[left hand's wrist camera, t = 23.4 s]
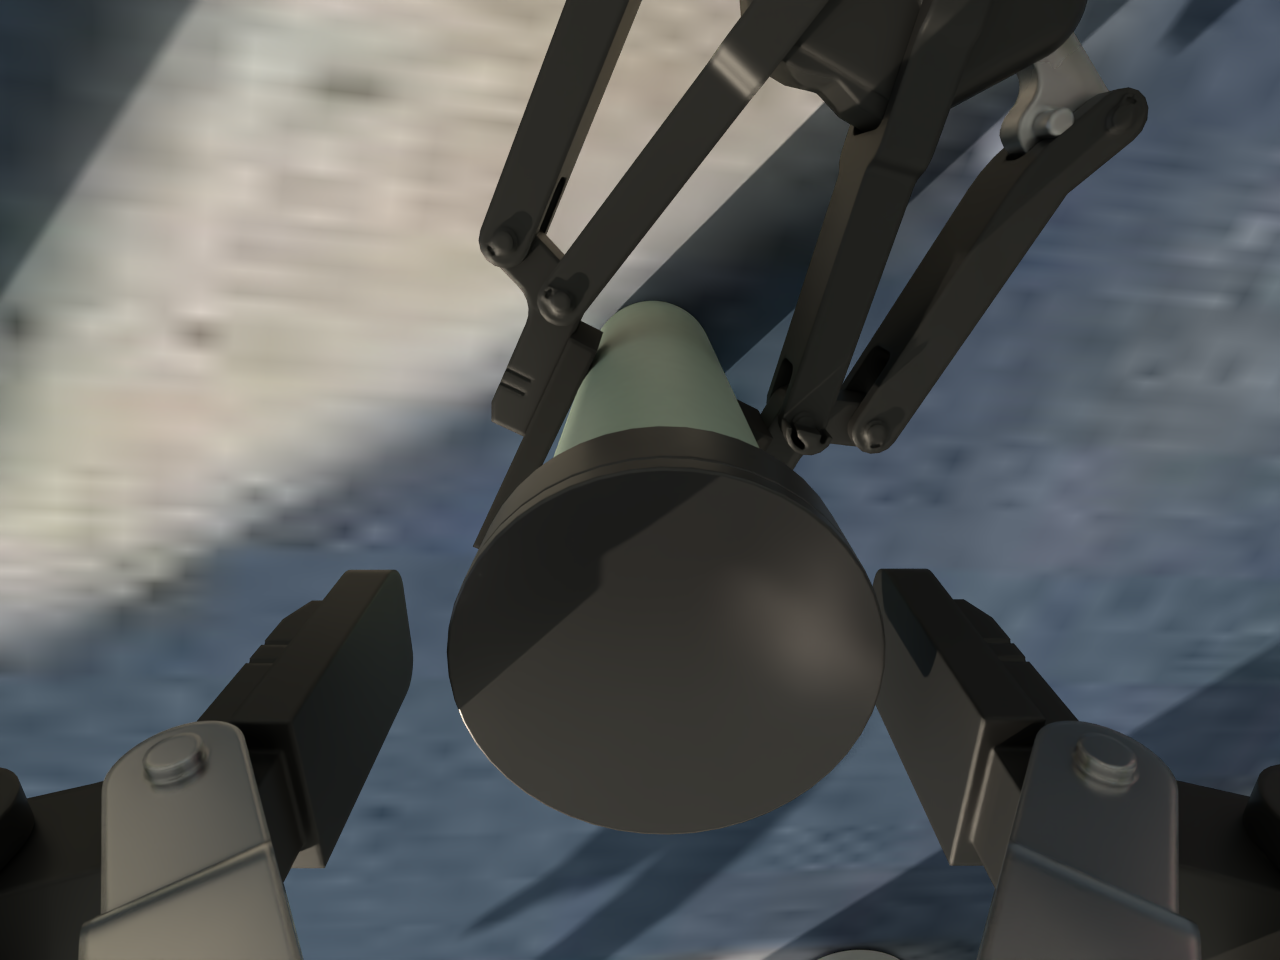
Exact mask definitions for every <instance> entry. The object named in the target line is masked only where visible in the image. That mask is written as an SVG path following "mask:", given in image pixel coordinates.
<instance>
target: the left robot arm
mask: <svg viewBox="0 0 1280 960" xmlns="http://www.w3.org/2000/svg"><path fill="white" fill-rule="evenodd" d="M873 588H874V591H875V593H876V596H877V599H878V603H879V606H880V610H881V613H882V617H883V624H884V632H885V640H886V647H885V668H884V673H883V678H882V683H881V688H880V692H879V695H878V698H877V701H876V703H875V705H876V707H877V709H878V711H879V713H880V715H881V717H882V720H883V722H884V724H885V726H886V728H887V730H888V733H889V735H890V737H891V739H892V741H893V743H894V746H895V748H896V750H897V752H898V754H899V756H900V758H901V761H902V763H903V765H904V767H905V769H906V771H907V774H908V776H909V778H910V780H911V782H912V784H913V787H914V789H915V791H916V793H917V795H918V797H919V799H920V802H921V804H922V806H923V808H924V810H925V812H926V815H927V817H928V819H929V821H930V823H931V825H932V828H933V830H934V832H935V834H936V836H937V838H938V840H939V843H940V845H941V847H942V849H943V851H944V853H945V856H946V858H947V860H948V862H949V864H950V866H984V868H985V870H986V871H987V873H988V875H989V877H990V879H991V881H992V883H993V885H994V887H995V891H994V895H993V898H992V902H991V906H990V910H989V914H988V918H987V921H986V925H985V929H984V933H983V937H982V941H981V945H980V948H979V952H978V956H977V960H1280V765H1275V766H1270V767H1268V768H1266V769H1264V770H1263V771H1262V772H1261V773H1260V775H1259V777H1258V780H1257V782H1256V784H1255V787H1254V789H1253V791H1252V794H1251V796H1250V797H1248V796H1244V795H1239V794H1235V793H1231V792H1226V791H1222V790H1217V789H1213V788H1208V787H1204V786H1199V785H1195V784H1190V783H1186V782H1181V781H1177V780H1176V779H1175V777H1174V775H1173V773H1172V772H1171V770H1170V769H1169V768H1168V766H1167V765H1166V764H1165V763H1164V762H1163V761H1162V760H1161V759H1160V758H1159V757H1158V756H1157V755H1156V754H1154V753H1153V752H1152V751H1151V750H1149V749H1148V748H1146V747H1145V746H1144V745H1142V744H1141V743H1139V742H1137V741H1135V740H1134V739H1132V738H1130V737H1128V736H1126V735H1124V734H1122V733H1120V732H1117V731H1115V730H1112V729H1110V728H1107V727H1104V726H1100V725H1097V724H1092V723H1088V722H1081V721H1078V720H1077V718H1076V717H1075V716H1074V715H1073V714H1072V712H1071V711H1070V710H1069V709H1068V708H1067V706H1066V705H1065V704H1064V703H1063V702H1062V700H1061V699H1060V698H1059V697H1058V696H1057V694H1056V693H1055V692H1054V691H1053V690H1052V688H1051V687H1050V686H1049V685H1048V684H1047V682H1046V681H1045V680H1044V679H1043V678H1042V676H1041V675H1040V674H1039V673H1038V672H1037V671H1036V669H1035V668H1034V667H1033V666H1032V665H1031V663H1030V662H1026V661H1025V656H1024V655H1023V654H1022V653H1021V651H1020V650H1019V649H1018V648H1017V647H1016V645H1015V644H1014V643H1010V638H1009V637H1008V636H1007V635H1006V633H1005V632H1004V631H1003V630H1002V629H1001V627H1000V626H999V625H998V624H997V623H996V621H995V620H994V619H993V618H992V617H990V616H989V615H987V614H986V613H984V612H983V611H981V610H980V609H978V608H976V607H975V606H973V605H972V604H970V603H969V602H967V601H966V600H964V599H952V598H951V596H950V595H949V594H948V592H947V591H946V590H945V588H944V587H943V586H942V585H941V583H940V582H939V581H938V579H937V578H936V577H935V576H934V574H933V573H932V572H931V571H930V570H928V569H879V570H878V572H877V573H876V575H875V578H874V583H873ZM412 669H413V651H412V643H411V637H410V630H409V623H408V616H407V609H406V602H405V595H404V588H403V582H402V579H401V576H400V574H399V572H398V571H397V570H348V571H346V572H345V573H344V574H343V575H342V577H341V578H340V579H339V580H338V582H337V583H336V584H335V585H334V587H333V588H332V589H331V591H330V592H329V593H328V594H327V596H326V597H325V598H324V599H323V601H311V602H309V603H307V604H306V605H304V606H303V607H301V608H300V609H298V610H296V611H295V612H293V613H292V614H290V615H289V616H287V617H286V618H284V619H283V620H282V621H281V622H280V623H279V625H278V626H277V627H276V628H275V629H274V630H273V632H272V633H271V634H270V635H269V636H268V638H267V639H266V640H265V645H261V646H260V647H259V648H258V649H257V651H256V652H255V653H254V654H253V655H252V657H251V658H250V662H249V663H246V664H245V665H244V666H243V667H242V668H241V670H240V671H239V672H238V673H237V674H236V675H235V677H234V678H233V679H232V680H231V681H230V683H229V684H228V685H227V686H226V687H225V688H224V690H223V691H222V692H221V693H220V694H219V696H218V697H217V698H216V699H215V700H214V702H213V703H212V704H211V705H210V706H209V707H208V709H207V710H206V711H205V712H204V713H203V715H202V716H201V717H200V718H199V719H198V720H197V722H192V723H188V724H183V725H180V726H176V727H173V728H170V729H168V730H165V731H163V732H160V733H158V734H156V735H154V736H152V737H150V738H148V739H146V740H145V741H143V742H141V743H139V744H138V745H136V746H135V747H134V748H132V749H131V750H129V751H128V752H127V753H126V754H124V755H123V756H122V757H121V758H120V759H119V760H118V761H117V762H116V763H115V764H114V765H113V766H112V768H111V769H110V770H109V772H108V773H107V775H106V777H105V779H104V781H102V782H98V783H94V784H90V785H85V786H81V787H76V788H72V789H67V790H63V791H58V792H54V793H49V794H45V795H40V796H36V797H31V798H26V796H25V793H24V791H23V789H22V786H21V784H20V782H19V779H18V777H17V776H16V775H15V774H14V773H13V772H12V771H10V770H8V769H5V768H0V960H303V956H302V952H301V948H300V945H299V941H298V937H297V933H296V929H295V925H294V921H293V918H292V914H291V910H290V906H289V902H288V898H287V895H286V891H285V887H284V883H283V882H284V880H285V878H286V877H287V875H288V873H289V871H290V869H291V868H325V866H326V864H327V862H328V860H329V858H330V856H331V853H332V851H333V849H334V847H335V845H336V843H337V841H338V838H339V836H340V834H341V832H342V830H343V828H344V826H345V824H346V821H347V819H348V817H349V815H350V813H351V811H352V809H353V807H354V804H355V802H356V800H357V798H358V796H359V794H360V792H361V789H362V787H363V785H364V783H365V781H366V779H367V777H368V775H369V772H370V770H371V768H372V766H373V764H374V762H375V760H376V758H377V755H378V753H379V751H380V749H381V747H382V745H383V743H384V741H385V738H386V736H387V734H388V732H389V730H390V728H391V726H392V723H393V721H394V719H395V717H396V715H397V713H398V711H399V709H400V706H401V704H402V702H403V700H404V698H405V696H406V694H407V691H408V689H409V686H410V682H411V677H412Z"/></svg>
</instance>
